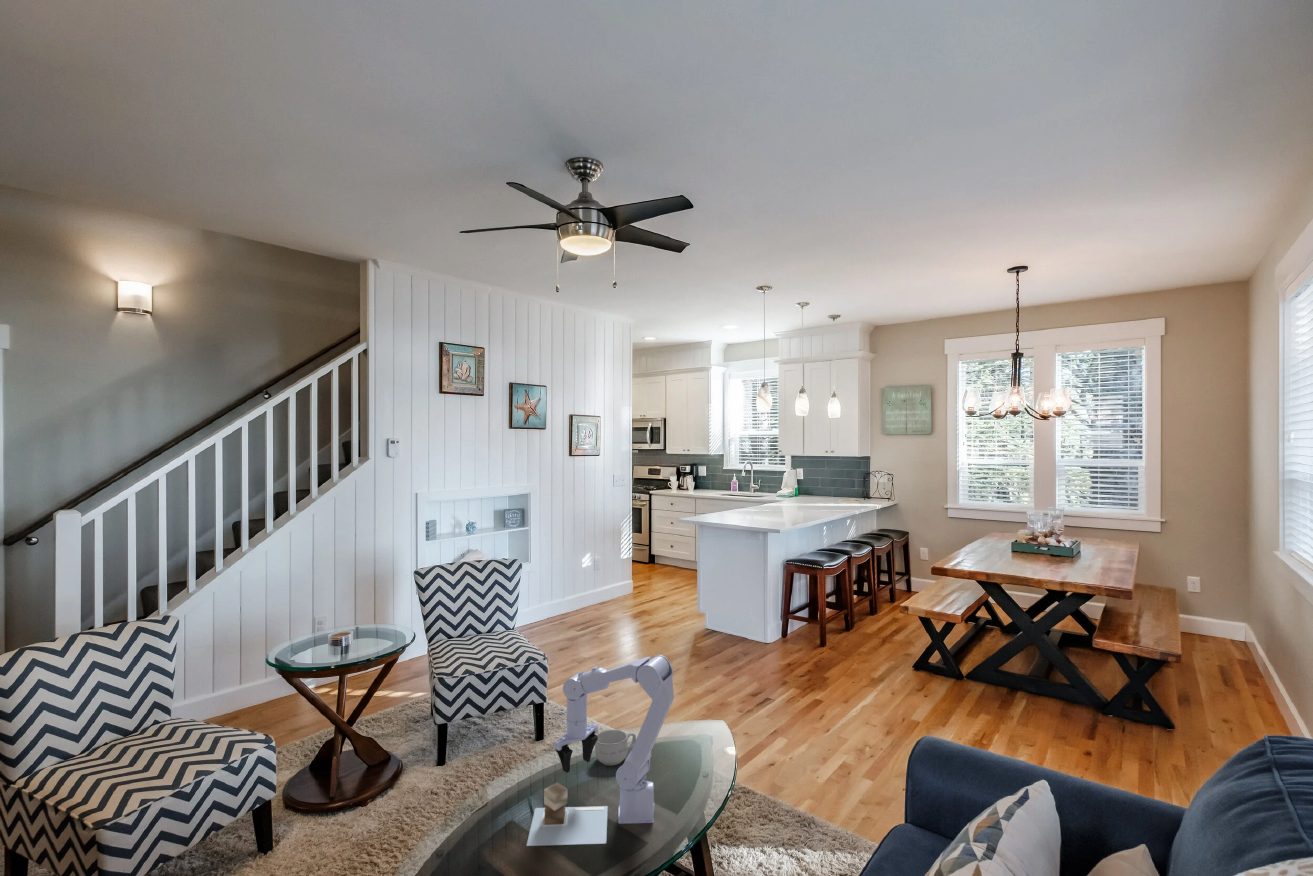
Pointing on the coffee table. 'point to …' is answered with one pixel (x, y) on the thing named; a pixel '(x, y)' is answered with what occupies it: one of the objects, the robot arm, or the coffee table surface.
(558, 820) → the walnut base
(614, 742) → the teacup
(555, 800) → the maple block
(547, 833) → the board
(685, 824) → the coffee table surface
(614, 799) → the coffee table surface
